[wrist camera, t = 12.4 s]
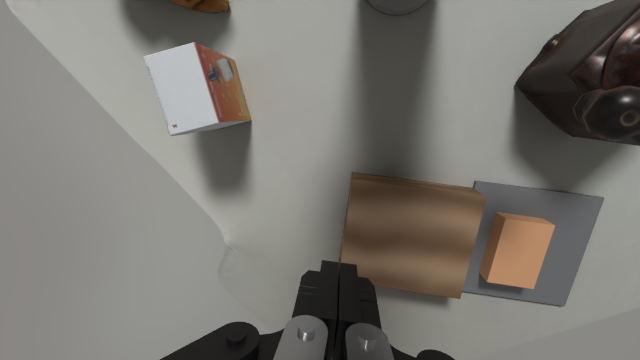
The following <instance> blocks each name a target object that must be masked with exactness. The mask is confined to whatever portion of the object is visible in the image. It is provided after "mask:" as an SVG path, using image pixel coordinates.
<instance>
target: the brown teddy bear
mask: <svg viewBox="0 0 640 360" xmlns="http://www.w3.org/2000/svg"><path fill="white" fill-rule="evenodd" d="M170 1H171V2H174V3H176V4H178V5H181V6H183V7H185V8H188V9H192V10H197V11H204V12H223V11H227V10H228V6H229V1H228V0H170Z"/></svg>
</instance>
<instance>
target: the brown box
mask: <svg viewBox="0 0 640 360" xmlns="http://www.w3.org/2000/svg"><path fill="white" fill-rule="evenodd" d="M486 199H487V197H486V196H485V195H483V194H482V193H480V192H479V191H477V190H475V189H474V188H469V187H461V186H454V185H446V184H438V183H430V182H423V181H415V180H407V179H400V178H392V177H384V176H377V175H369V174H361V173H354V172H352V177H351V184H350V190H349V197H348V204H347V211H346V218H345V225H344V232H343V239H342V245H341V252H340V259H339V264H340V262H341V263H348V264H356V265H357V273H358V277H364V278H368V279H369V280H370V281H371V282H372V284H373V285H374V286H377V287H384V288H390V289H397V290H404V291H411V292H417V293H424V294H431V295H437V296H444V297H451V298H458V299H460V297H461V293H462V289H463V286H464V282H465V278H466V274H467V271H468V267H469V263H470V259H471V256H472V252H473V248H474V244H475V240H476V237H477V233H478V229H479V225H480V222H481V218H482V214H483V210H484V207H485V203H486ZM338 271H339V268H338Z"/></svg>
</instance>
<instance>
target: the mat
mask: <svg viewBox="0 0 640 360" xmlns="http://www.w3.org/2000/svg"><path fill="white" fill-rule="evenodd" d="M473 188H474V189H475V190H477V191H479V192H480V193H482V194H483V195H485V196H486V197H487V199H486V203H485V207H484V210H483V214H482V218H481V222H480V225H479V229H478V233H477V237H476V240H475V244H474V248H473V252H472V256H471V259H470V263H469V267H468V271H467V274H466V278H465V282H464V286H463V289H462V291H464V292H471V293H478V294H485V295H492V296H498V297H505V298H512V299H519V300H525V301H532V302H539V303H546V304H553V305H559V306H565V304H566V301H567V298H568V296H569V293H570V290H571V287H572V285H573V282H574V279H575V276H576V274H577V271H578V268H579V266H580V263H581V260H582V257H583V255H584V252H585V249H586V247H587V244H588V241H589V238H590V236H591V233H592V230H593V227H594V225H595V222H596V219H597V217H598V214H599V211H600V208H601V206H602V203H603V200H604V198H603V197H597V196H590V195H582V194H574V193H566V192H559V191H551V190H543V189H535V188H527V187H520V186H512V185H504V184H496V183H489V182H481V181H475V182H474V186H473ZM496 212H501V213H508V214H515V215H522V216H529V217H536V218H543V219H545V220H547V221H548V222H550V223H552V224H554V225H555V228H554V231H553V234H552V237H551V240H550V243H549V246H548V248H547V251H546V254H545V257H544V260H543V263H542V266H541V269H540V272H539V275H538V278H537V281H536V284H535V287H534V289H530V288H523V287H516V286H510V285H503V284H497V283H490V282H487V281H486V280H485V279H484V278H483V277H482V275H481V274H480V273H479V271H480V267H481V264H482V260H483V257H484V253H485V250H486V246H487V242H488V239H489V235H490V232H491V228H492V225H493V221H494V218H495V214H496Z"/></svg>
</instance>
